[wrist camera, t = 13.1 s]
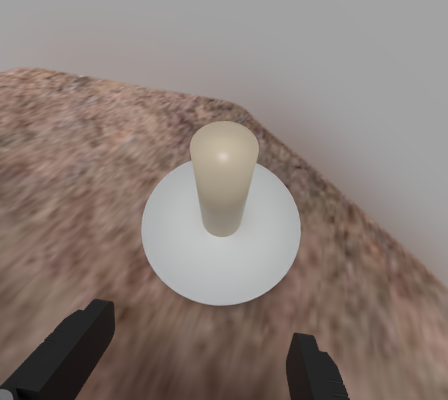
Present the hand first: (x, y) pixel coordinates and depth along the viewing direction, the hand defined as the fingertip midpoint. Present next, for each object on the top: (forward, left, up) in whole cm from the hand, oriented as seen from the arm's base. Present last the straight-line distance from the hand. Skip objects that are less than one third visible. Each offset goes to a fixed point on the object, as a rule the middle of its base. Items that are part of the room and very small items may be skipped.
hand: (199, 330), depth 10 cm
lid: (-2, +8, -7) cm, 10 cm away
